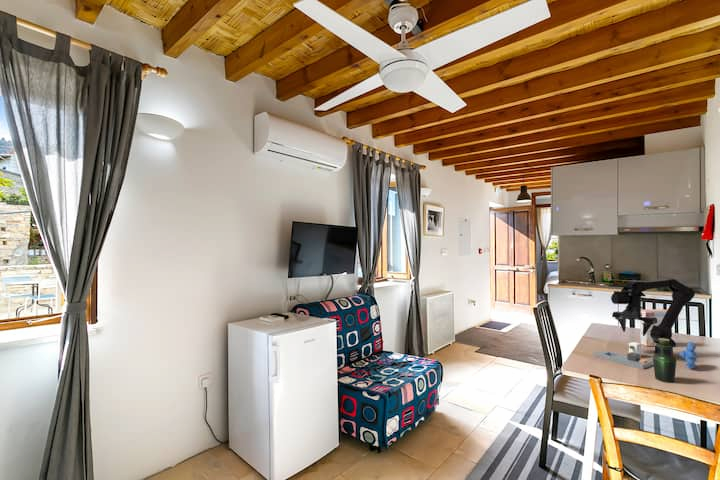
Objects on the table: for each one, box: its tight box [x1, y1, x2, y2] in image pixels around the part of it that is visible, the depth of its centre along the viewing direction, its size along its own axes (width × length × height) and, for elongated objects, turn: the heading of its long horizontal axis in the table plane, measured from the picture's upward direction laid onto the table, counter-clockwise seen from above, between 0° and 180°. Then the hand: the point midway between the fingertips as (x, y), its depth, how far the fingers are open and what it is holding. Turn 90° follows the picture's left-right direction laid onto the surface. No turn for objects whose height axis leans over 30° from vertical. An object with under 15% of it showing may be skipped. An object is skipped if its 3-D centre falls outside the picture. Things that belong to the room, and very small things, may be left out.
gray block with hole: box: [593, 349, 654, 370], centre depth 184 cm, size 22×10×5 cm, turn 29°
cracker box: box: [639, 308, 673, 348], centre depth 209 cm, size 14×6×21 cm, turn 84°
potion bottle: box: [652, 338, 678, 383], centre depth 159 cm, size 8×8×18 cm
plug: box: [628, 341, 642, 358], centre depth 190 cm, size 4×6×7 cm, turn 119°
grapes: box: [678, 342, 699, 370], centre depth 174 cm, size 12×7×12 cm, turn 135°
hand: (633, 333), depth 191 cm, fingers open, 9 cm apart
